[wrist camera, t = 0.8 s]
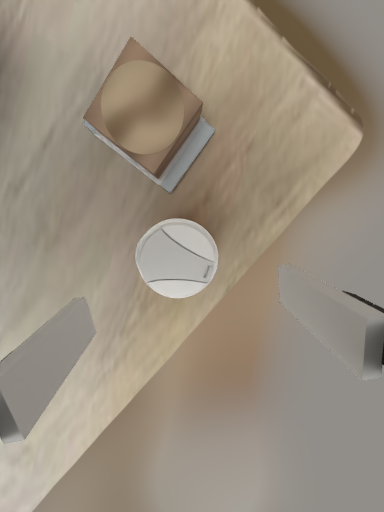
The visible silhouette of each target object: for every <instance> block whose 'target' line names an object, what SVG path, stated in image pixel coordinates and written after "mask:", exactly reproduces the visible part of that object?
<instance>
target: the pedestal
mask: <svg viewBox="0 0 384 512" xmlns="http://www.w3.org/2000/svg"><path fill="white" fill-rule="evenodd" d="M202 104H203V102H202V101H201V100H200V99H198V98H197V97H196V96H195V95H194V94H193V93H192V92H191V91H190V90H189V89H188V88H187V87H185V86H184V85H183V84H182V83H181V82H180V81H179V80H178V79H177V78H176V77H175V76H174V75H172V74H171V73H170V72H169V71H168V70H167V69H166V68H165V67H164V66H163V65H162V64H161V63H159V62H158V61H157V60H156V59H155V58H154V57H153V56H152V55H151V54H150V53H149V52H147V51H146V50H145V49H144V48H143V47H142V46H141V45H140V44H139V43H138V42H137V41H136V40H134V39H133V38H132V37H130V39H129V41H128V42H127V44H126V46H125V48H124V49H123V51H122V53H121V54H120V56H119V58H118V59H117V61H116V63H115V64H114V66H113V68H112V70H111V71H110V73H109V75H108V76H107V78H106V80H105V81H104V83H103V85H102V86H101V88H100V90H99V92H98V93H97V95H96V97H95V98H94V100H93V102H92V103H91V105H90V107H89V108H88V110H87V112H86V113H85V115H84V117H83V118H84V119H85V120H86V121H87V122H88V123H89V124H90V125H92V126H93V127H94V128H95V129H96V130H97V131H98V132H99V133H100V134H102V135H103V136H104V137H105V138H107V139H108V140H109V141H110V142H112V143H113V144H114V145H115V146H117V147H118V148H119V149H120V150H122V151H123V152H124V153H125V154H127V155H128V156H129V157H131V158H132V159H133V160H134V161H136V162H137V163H138V164H139V165H141V166H142V167H143V168H144V169H146V170H147V171H148V172H149V173H151V174H152V175H153V176H154V177H156V178H157V179H158V180H159V178H160V177H161V175H162V174H163V172H164V171H165V169H166V168H167V167H168V165H169V164H170V162H171V161H172V159H173V158H174V157H175V155H176V154H177V152H178V151H179V149H180V148H181V146H182V145H183V144H184V142H185V141H186V139H187V138H188V136H189V135H190V134H191V132H192V131H193V129H194V128H195V126H196V125H197V124H198V122H199V120H200V115H201V110H202Z"/></svg>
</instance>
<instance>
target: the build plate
mask: <svg viewBox="0 0 384 512" xmlns="http://www.w3.org/2000/svg"><path fill="white" fill-rule="evenodd" d="M83 125H84V126H85V127H87V128H88V129H89V130H90V131H92V132H93V133H94V134H95V135H96V136H97V137H98V138H100V139H101V140H102V141H103V142H105V143H106V144H107V145H109V146H110V147H111V148H112V149H114V150H115V151H116V152H117V153H119V154H120V155H121V156H122V157H124V158H125V159H126V160H128V161H129V162H130V163H131V164H133V165H134V166H135V167H136V168H138V169H139V170H140V171H142V172H143V173H144V174H145V175H147V176H148V177H149V178H150V179H152V180H153V181H154V182H155V183H157V184H158V185H159V186H161V187H163V188H164V189H165V190H166V191H168V192H169V193H170V194H171V192H172V191H173V189H174V188H175V187H176V185H177V184H178V182H179V181H180V180H181V178H182V177H183V175H184V174H185V173H186V171H187V170H188V168H189V167H190V166H191V164H192V163H193V161H194V160H195V159H196V157H197V156H198V155H199V153H200V152H201V150H202V149H203V148H204V146H205V145H206V143H207V142H208V141H209V139H210V138H211V136H212V135H213V134H214V132H215V129H214V128H213V127H211V126H210V125H209V124H208V123H207V122H206V121H205V119H204V118H203V117H201V116H200V120H199V122H198V124H197V125H196V126H195V128H194V129H193V131H192V132H191V134H190V135H189V136H188V138H187V139H186V141H185V142H184V144H183V145H182V146H181V148H180V149H179V151H178V152H177V154H176V155H175V157H174V158H173V159H172V161H171V162H170V164H169V165H168V167H167V168H166V169H165V171H164V172H163V174H162V175H161V177H160V178H159V180H158V179H157V178H156V177H154V176H153V175H152V174H151V173H149V172H148V171H147V170H146V169H144V168H143V167H142V166H141V165H139V164H138V163H137V162H136V161H134V160H133V159H132V158H131V157H129V156H128V155H127V154H125V153H124V152H123V151H122V150H120V149H119V148H118V147H117V146H115V145H114V144H113V143H112V142H110V141H109V140H108V139H107V138H105V137H104V136H103V135H102V134H100V133H99V132H98V131H97V130H96V129H95V128H94V127H93V126H92V125H90V124H89V123H88V122H87V121H86V120H85V121H84V123H83Z"/></svg>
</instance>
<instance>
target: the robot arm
mask: <svg viewBox="0 0 384 512" xmlns="http://www.w3.org/2000/svg"><path fill="white" fill-rule="evenodd" d="M278 274H279V275H278V276H279V298H280V303H281V304H282V305H283V306H284V307H285V308H286V309H288V311H289V312H290V313H291V314H293V315H294V316H295V317H296V318H297V319H298V320H299V321H300V322H301V323H302V324H303V325H304V326H305V327H306V328H307V329H308V330H309V331H310V332H311V333H312V334H313V335H314V336H315V337H317V338H318V339H319V340H320V341H321V342H322V343H323V344H324V345H325V346H326V347H327V348H328V349H329V350H330V351H331V352H332V353H333V354H334V355H335V356H336V357H337V358H338V359H340V360H341V361H342V362H343V363H344V364H345V365H346V366H347V367H348V368H349V369H350V370H351V371H352V372H353V373H354V374H355V375H356V376H357V377H358V378H360V379H361V381H364V380H370V379H376V378H381V373H382V364H383V365H384V309H383V308H381V307H379V306H377V305H373V303H371V302H369V301H367V300H365V299H363V298H361V297H359V296H357V295H355V294H352V293H349V292H345V291H340V290H338V289H336V288H334V287H332V286H331V285H329V284H327V283H325V282H323V281H321V280H319V279H317V278H315V277H313V276H311V275H309V274H308V273H306V272H304V271H302V270H300V269H298V268H296V267H294V266H292V265H290V264H285V265H279V266H278ZM95 334H96V330H95V327H94V324H93V320H92V317H91V314H90V311H89V307H88V304H87V301H86V298H85V297H82V298H76V299H73V300H72V301H71V302H70V303H68V304H67V305H66V306H65V307H64V308H63V309H61V310H60V311H59V312H58V313H57V314H56V315H54V316H53V317H52V318H51V319H50V320H49V321H47V322H46V323H45V324H44V325H43V326H42V327H41V328H39V329H38V330H37V331H36V332H35V333H34V334H32V335H31V336H30V337H29V338H28V339H27V340H25V341H24V342H23V343H22V344H21V345H20V346H18V347H17V348H16V349H15V350H14V351H12V352H11V353H10V354H8V355H7V356H6V357H5V358H4V359H3V360H1V362H0V437H1V439H2V441H3V443H4V444H6V443H11V442H17V441H23V440H25V439H26V437H27V436H28V434H29V433H30V431H31V430H32V428H33V427H34V425H35V424H36V422H37V421H38V419H39V418H40V416H41V415H42V413H43V412H44V410H45V409H46V407H47V406H48V404H49V403H50V401H51V400H52V398H53V397H54V395H55V394H56V392H57V391H58V389H59V388H60V386H61V385H62V383H63V382H64V380H65V379H66V377H67V376H68V374H69V373H70V371H71V370H72V368H73V367H74V365H75V364H76V362H77V361H78V359H79V358H80V356H81V355H82V353H83V352H84V350H85V349H86V347H87V346H88V344H89V343H90V341H91V340H92V338H93V337H94V335H95Z"/></svg>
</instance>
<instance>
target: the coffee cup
mask: <svg viewBox="0 0 384 512" xmlns="http://www.w3.org/2000/svg"><path fill="white" fill-rule="evenodd" d="M135 261H136V264H137V267H138V270H139V273H140V275H141V276H142V278H143V280H144V281H145V282H146V284H147V285H148V286H149V287H150V288H151V289H152V290H154V291H155V292H157V293H158V294H160V295H163V296H165V297H169V298H186V297H190V296H192V295H194V294H196V293H198V292H200V291H201V290H202V289H204V288H205V287H206V286H207V285H208V284H209V283H210V282H211V280H212V278H213V277H214V275H215V273H216V270H217V266H218V250H217V246H216V244H215V241H214V239H213V238H212V236H211V235H210V234H209V232H208V231H207V230H206V229H204V228H203V227H202V226H201V225H199V224H197V223H195V222H193V221H191V220H187V219H179V218H175V219H168V220H164V221H162V222H159V223H157V224H156V225H154V226H153V227H151V228H150V229H149V230H148V231H147V232H146V233H145V235H144V236H143V237H142V238H141V239H140V240H139V242H138V244H137V247H136V252H135Z"/></svg>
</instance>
